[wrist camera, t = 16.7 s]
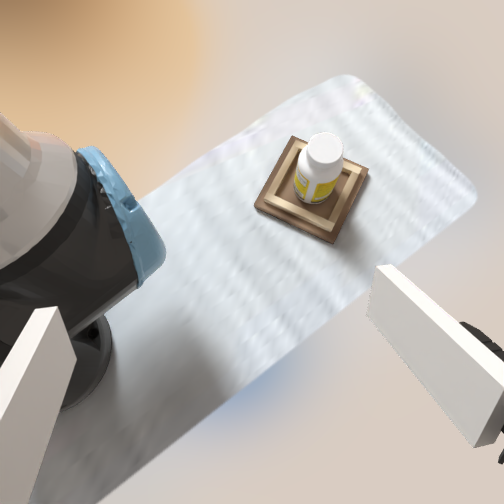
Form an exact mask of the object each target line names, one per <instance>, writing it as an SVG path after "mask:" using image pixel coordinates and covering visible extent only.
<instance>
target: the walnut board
mask: <svg viewBox="0 0 504 504" xmlns="http://www.w3.org/2000/svg"><path fill="white" fill-rule="evenodd" d="M306 145H308V142H306V141H304V140H301V139H299V138H297V137H294V136H291V138H290V140H289V142H288V143H287V145H286V147H285V149H284V151H283V153H282V154H281V156H280V158H279V160H278V162H277V163H276V165H275V167H274V169H273V171H272V172H271V174H270V176H269V178H268V180H267V182H266V183H265V185H264V187H263V189H262V191H261V192H260V194H259V196H258V198H257V200H256V202H255V203H254V207H255V208H258V209H260V210H262V211H264V212H266V213H268V214H270V215H272V216H274V217H277V218H279V219H281V220H283V221H285V222H287V223H289V224H291V225H293V226H295V227H298V228H300V229H302V230H304V231H306V232H308V233H310V234H312V235H314V236H317V237H319V238H321V239H323V240H325V241H327V242H329V243H331V244H333V243H334V242H335V240H336V237H337V235H338V233H339V231H340V229H341V227H342V225H343V223H344V221H345V219H346V216H347V214H348V212H349V210H350V208H351V206H352V204H353V202H354V200H355V198H356V195H357V193H358V191H359V189H360V187H361V185H362V183H363V181H364V179H365V177H366V175H367V172H368V170H369V169H368V168H366V167H364V166H361V165H359V164H357V163H354V162H352V161H350V160H348V159H345V158H343V160H344V163H343V168H342V171H341V173H340V175H339V178H338V180H337V182H336V184H335V186H334V188H333V190H332V193H331V194H330V196H329V197H328V198H327V199H326V200H325V201H323V202H321V203H318V204H309V203H305V202H303V201H302V200H300V199H299V198H298V197H297V195H296V194H295V191H294V178H295V173H296V168H297V163H298V158H299V155H300V153H301V151H302V150H303V148H304V147H305V146H306Z"/></svg>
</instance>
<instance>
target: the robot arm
mask: <svg viewBox="0 0 504 504" xmlns="http://www.w3.org/2000/svg"><path fill="white" fill-rule="evenodd" d="M165 258H166V248H165V245H164V243H163V241H162V239H161V237H160V235H159V234H158V232H157V230H156V229H155V227H154V225H153V224H152V222H151V221H150V219H149V218H148V216H147V215H146V213H145V212H144V210H143V209H142V207H141V206H140V205H139V203H138V202H137V201H136V200H135V197H134V196H133V195H132V193H131V192H130V190H129V189H128V187H127V185H126V184H125V182H124V181H123V180H122V178H121V177H120V175H119V174H118V173H117V171H116V170H115V169H114V167H113V166H112V165H111V163H110V162H109V161H108V160H107V158H106V157H105V156H104V154H103V153H102V152H101V151H100V150H99V149H98V148H96V147H94V146H88V147H86V148H82V149H78V150H77V152H76V153H75V152H74V151H73V150H72V149H71V148H70V147H69V146H68V145H67V144H66V143H65V142H64V141H63V140H61V139H60V138H59V137H57V136H55V135H52V134H49V133H45V132H44V133H43V132H29V131H20V130H19V129H18V128H17V127H16V126H15V125H14V124H12V123H11V122H10V121H9V120H8V119H7V118H6V117H5V116H4V115H3V114H2V113H1V112H0V504H28V502H29V499H30V496H31V493H32V490H33V487H34V485H35V482H36V479H37V476H38V473H39V470H40V467H41V464H42V461H43V458H44V455H45V452H46V449H47V446H48V443H49V440H50V437H51V434H52V431H53V428H54V425H55V422H56V419H57V417H58V414H59V412H61V411H64V410H66V409H69V408H71V407H73V406H75V405H76V404H78V403H79V402H81V401H82V400H83V399H85V398H86V397H87V396H88V395H89V394H90V393H91V392H92V391H93V390H94V389H95V387H96V386H97V385H98V383H99V382H100V380H101V378H102V377H103V375H104V373H105V371H106V368H107V365H108V362H109V358H110V353H111V333H110V328H109V325H108V322H107V320H106V318H105V316H104V313H105V312H107V311H108V310H109V309H111V308H112V307H113V306H115V305H116V304H117V303H118V302H120V301H121V300H122V299H124V298H125V297H126V296H128V295H129V294H130V293H132V292H133V291H134V290H135V289H138V288H140V287H141V286H142V284H143V282H144V281H145V280H146V279H147V278H148V277H149V276H150V275H151V274H153V273H154V272H155V271H156V270H157V269H158V268H159V267H160V266H161V265H162V264H163V263H164V261H165ZM366 315H367V316H368V318H369V319H370V320H371V321H372V323H373V324H374V325H375V326H376V328H377V329H378V330H379V331H380V333H381V334H382V335H383V336H384V338H385V339H386V340H387V341H388V343H389V344H390V345H391V346H392V348H393V349H394V350H395V351H396V352H397V354H398V355H399V356H400V358H401V359H402V360H403V361H404V363H405V364H406V365H407V366H408V368H409V369H410V370H411V371H412V373H413V374H414V375H415V376H416V377H417V379H418V380H419V381H420V382H421V384H422V385H423V386H424V388H426V390H427V391H428V392H429V393H430V395H431V396H432V397H433V399H434V400H435V401H436V402H437V404H438V405H439V406H440V407H441V409H442V410H443V411H444V412H445V414H446V415H447V416H448V417H449V419H450V420H451V421H452V422H453V424H454V425H455V426H456V427H457V429H458V430H459V431H460V432H461V433H462V435H463V436H464V437H465V439H466V440H467V441H468V442H469V444H470V445H471V446H472V447H473V448H476V447H480V446H485V445H489V444H493V443H494V442H495V441H496V439H497V437H498V435H499V434H500V432H501V431H502V432H503V433H504V351H502V349H501V348H500V347H499V346H498V345H497V344H496V343H493V342H492V340H491V339H490V338H489V337H487V336H486V335H485V334H484V333H483V332H481V331H480V330H479V329H477V328H475V327H473V326H471V325H469V324H467V323H465V322H459V323H458V322H457V321H456V320H455V319H454V318H452V317H451V316H450V315H449V314H448V313H447V312H446V311H444V310H443V309H442V308H441V307H440V306H438V304H436V303H435V302H434V301H433V300H432V299H430V298H429V297H428V296H427V295H426V294H425V293H424V292H422V291H421V290H420V289H419V288H418V287H417V286H416V285H415V284H413V283H412V282H411V281H410V280H409V279H408V278H406V277H405V276H404V275H403V274H402V273H401V272H400V271H398V270H397V269H396V268H395V267H394V266H393V265H392V264H389V265H381V266H376V267H375V272H374V277H373V283H372V288H371V293H370V298H369V303H368V309H367V313H366ZM498 463H500V464H503V463H504V449H503V451H502V453H501V454H500V456H499V460H498Z"/></svg>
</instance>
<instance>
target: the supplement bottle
mask: <svg viewBox="0 0 504 504" xmlns="http://www.w3.org/2000/svg"><path fill="white" fill-rule="evenodd" d="M342 154H343V144H342V142H341V140H340V139H339V138H338V137H337V136H336V135H334V134H332V133H328V132H322V133H318V134H316V135H314V136H313V137H312V138H311V139H310V140H309V142H308V145H306V146H305V147H304V148H303V150H302V151H301V153H300V155H299V158H298V163H297V168H296V173H295V178H294V191H295V194H296V195H297V197H298V198H299V199H300V200H302V201H303V202H305V203H309V204H318V203H321V202H323V201H325V200H326V199H327V198H328V197H329V196H330V194H331V193H332V190H333V188H334V186H335V184H336V182H337V180H338V178H339V175H340V173H341V171H342V168H343V163H344V160H343V155H342Z"/></svg>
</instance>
